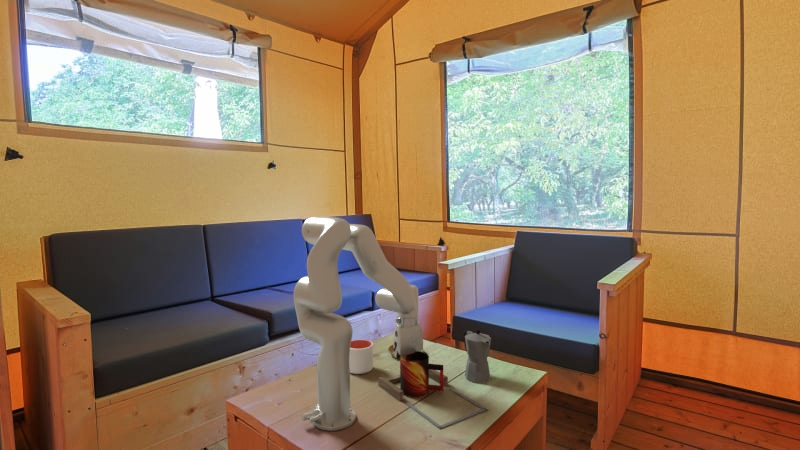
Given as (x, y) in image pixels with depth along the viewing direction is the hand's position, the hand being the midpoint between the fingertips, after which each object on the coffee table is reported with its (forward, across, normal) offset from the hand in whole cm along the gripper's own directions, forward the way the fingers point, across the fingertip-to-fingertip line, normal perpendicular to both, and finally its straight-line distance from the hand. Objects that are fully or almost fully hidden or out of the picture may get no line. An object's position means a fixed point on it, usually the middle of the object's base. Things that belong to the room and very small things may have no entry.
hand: (407, 371), depth 150 cm
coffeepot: (+4, +23, -10) cm, 25 cm away
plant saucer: (+4, +14, +22) cm, 27 cm away
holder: (+4, 0, -3) cm, 5 cm away
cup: (+4, -9, +19) cm, 22 cm away
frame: (+4, 0, -21) cm, 21 cm away
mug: (+4, 0, -7) cm, 8 cm away
